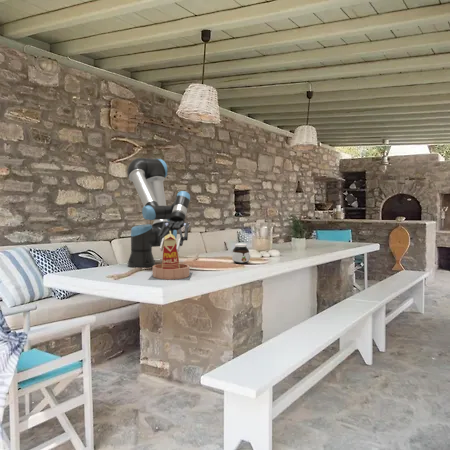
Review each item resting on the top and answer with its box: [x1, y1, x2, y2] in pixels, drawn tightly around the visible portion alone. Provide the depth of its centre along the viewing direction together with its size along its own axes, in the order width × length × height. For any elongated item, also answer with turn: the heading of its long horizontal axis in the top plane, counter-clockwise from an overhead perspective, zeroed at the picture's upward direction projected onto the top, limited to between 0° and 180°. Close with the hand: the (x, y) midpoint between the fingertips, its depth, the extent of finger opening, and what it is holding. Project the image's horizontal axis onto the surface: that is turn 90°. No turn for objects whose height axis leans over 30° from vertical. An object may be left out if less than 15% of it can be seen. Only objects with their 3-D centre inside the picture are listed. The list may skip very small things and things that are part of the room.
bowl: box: [152, 263, 191, 281], centre depth 220 cm, size 18×18×5 cm
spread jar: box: [232, 242, 251, 265], centre depth 268 cm, size 12×11×12 cm
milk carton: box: [161, 231, 181, 269], centre depth 219 cm, size 9×9×20 cm
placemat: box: [147, 272, 193, 281], centre depth 220 cm, size 20×20×1 cm
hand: (169, 249), depth 216 cm, fingers closed on milk carton, 8 cm apart
